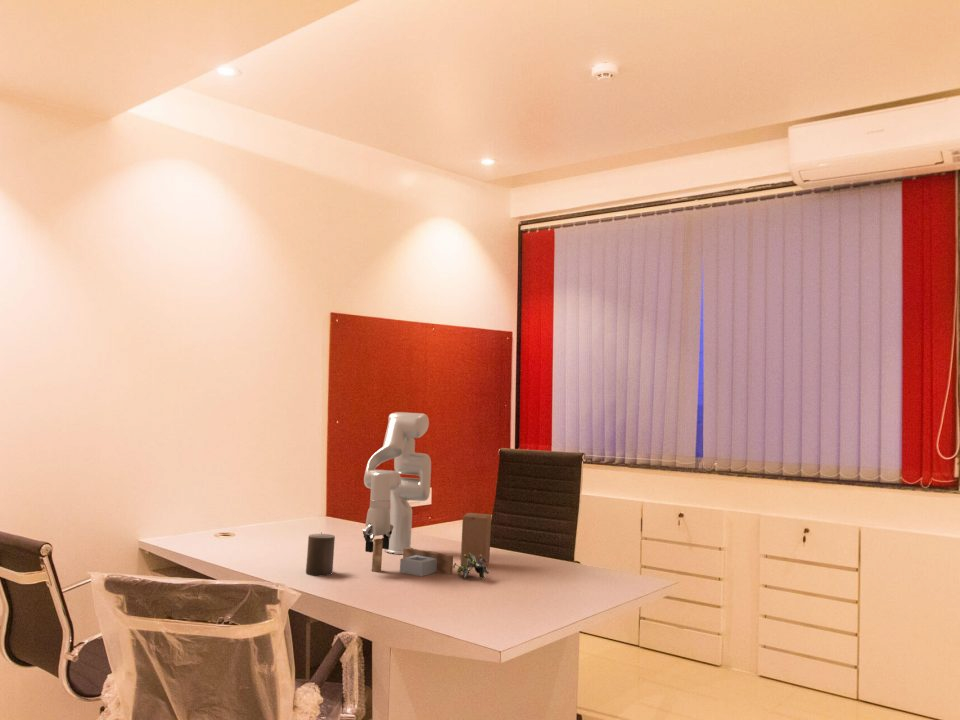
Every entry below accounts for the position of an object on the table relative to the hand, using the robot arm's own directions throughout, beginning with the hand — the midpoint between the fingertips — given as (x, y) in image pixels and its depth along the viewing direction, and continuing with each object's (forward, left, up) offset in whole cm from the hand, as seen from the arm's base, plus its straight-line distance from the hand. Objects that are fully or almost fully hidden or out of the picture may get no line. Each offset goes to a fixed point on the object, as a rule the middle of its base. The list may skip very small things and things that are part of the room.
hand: (377, 550), depth 291 cm
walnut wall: (+13, +16, -8) cm, 22 cm away
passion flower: (+33, +15, -8) cm, 37 cm away
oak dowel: (0, +1, -8) cm, 8 cm away
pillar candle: (-14, -15, -8) cm, 23 cm away
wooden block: (+22, +37, -8) cm, 43 cm away
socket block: (+13, +10, -8) cm, 18 cm away
